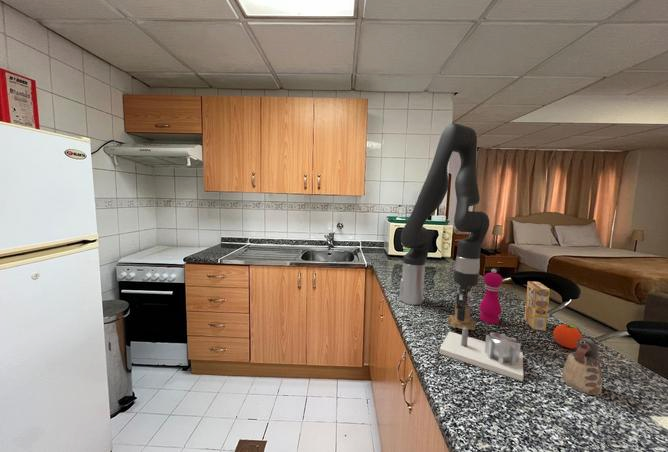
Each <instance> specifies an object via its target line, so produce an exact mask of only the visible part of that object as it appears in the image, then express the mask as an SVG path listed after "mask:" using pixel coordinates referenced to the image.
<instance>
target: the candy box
mask: <svg viewBox="0 0 668 452" xmlns="http://www.w3.org/2000/svg"><path fill="white" fill-rule="evenodd" d="M550 292H551V289H550V288H548V286H546V285H544V284H543V283H541V282H539V281H531V280H530V281H529V280H528V281H527V288H526V297H525V298H526V299H525V307H524V308H525V309H524V320H525V322H526V323H527V324H528V325H529V326H530V328H532V330H536V331H544V332H546V331H547V321H548V313H549V312H548V311H549V302H550Z"/></svg>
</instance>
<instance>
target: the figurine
mask: <svg viewBox="0 0 668 452" xmlns="http://www.w3.org/2000/svg"><path fill="white" fill-rule="evenodd" d="M599 350H600V347H599V346H598V345H597V344H596V343H595V342H594V341H593V340H591V339H589V338H587V337H582V338H580V339H578V340H577V347H576V351H572V352H570V353H569V354H568V356H567V357H566V359H565V360H566V361H565V364H564V366H563V367H564V368H563V370H562V379H563V381H564V383H566V385H567V386H569V387H571V388H572V389H574V390H575V391H579V392H581V393H582V394H587V395H590V396H593V395H594V396H599V395H600V394H601V393H602V390H603V381H602V377H603V376H602V371H603V370H602V367H601V365H600V363H599V362H598V361H600V357H598V354H599Z"/></svg>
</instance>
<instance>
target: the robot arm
mask: <svg viewBox="0 0 668 452" xmlns="http://www.w3.org/2000/svg"><path fill="white" fill-rule="evenodd" d="M477 144H478V140H477V132H476V130H475V129H474V128H471V127H469V126H466V125H463V124H459V123H455V122H452V123H450V124H448V125H447V126H445V128H444V129H443V131H442V133H441V135H440V137H439V141H438V143H437V147H436V150H435V153H434V156H433V159H432V162H431V165H430V168H429V171H428V173H427V176H426V178H425V180H424V183H423V185H422V187H421V190H420V192H419V194H418V197H417V200H416V202H415V205H414V206H413V210H412V211H411V213H410V216H409V217H408V219H407V222H406V223H405V225H404V227H403V229H402V230H401V234H400V242H401V245H402V246H403V247H404V248H406V249H409V251H408V252H407V253H406V254H404V256H403V257H402V260H403V262H402V275H401V279H400V281H399V297H398V298H399V301H400V302H402V303H404V304H406V305H413V306H417V305H421V304H423V302H424V301H423V300H424V287H425V286H424V285H425V284H424V283H425V270H426V269H425V268H426V261H427V259H428V256H429V249H430V248H429V247H430V233H429V231H428V229H427V228H426V227H425V226H424V225H425V223H426V222H427V220H428V219H429V218H430V216H432V215H433V214H434V213H435V212H436V210H437V209H439V207H440V206H441V204H442V203H443V202H444V199H445V196H446V195H447V192H448V190H449V174H448V173H449V172H448V166H449V161H450V159H451V156H452V154H453V153H458V155H459V158H460V167H459V170H458V172H457V175H456V178H455V181H454V190H455V196H456V207H455V213H454V218H453V224H454V227H455V228H456V230H457V231H459V233H460V232H461V233H470V234H469V236H467V237H464V238H461V239H459V240H458V242H457V249H456V250H457V251H456V258H455V261H454V271H453V282H454V283H455V284H458V285H459V287H458V288H457V290H456V292H457V293H456V304H457V306H456V309H458V313H457V319H458V320H460V321H464V319H465V310H466V305H468V306H469V304H470V301H471V298H472V297H471V295H472V291H473V289H472V288H473V287H476V286H478V285H479V277H480V268H481V267H480V266H481V265H480V263H481V261H480V259H481V248H482V245H483V244H484V240H485V239H486V236H487V233H488V232H489V231H488V230H489V227H490V219H489V216H488V214H487V213H486V212H483V211H471V210H470V207H472V206H473V207H474V206H476V205H478V204H479V203H480V201H481V200H480V198H481V197H480V192H479V191H480V190H479V187H478V186H479V184H478V179H477V151H478V150H477V148H478V145H477ZM460 304H461V305H463V307H462V306H460Z"/></svg>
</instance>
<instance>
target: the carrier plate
mask: <svg viewBox="0 0 668 452" xmlns="http://www.w3.org/2000/svg"><path fill="white" fill-rule="evenodd" d="M485 343H486V340H485V341H484V340H480V339H476V338H474V337H470V336H469V329H468V328H466V327H464V328H463V329H461V334H459V333H455V332H453V331H448V333H447V334H446V336H445V339H444V340H443V342H442V343H441V346H440V347H439V354H440V355H442V356H445V357H448V358H451V359H454V360H457V361H460V362H464V363H467V364H470V365H472V366H476V367H478V368H481V369H485V370H486V371H490V372H493V373H495V374H496V373H497V374H499V375H502V376H505V377H508V378H511V379H514V380H517V381H520V382H524V356H523V354H524V353H523V351H520V355H519V363H518V362H515V365H514V366H511V365H510V364H507V363H503V364H500V363H498V361H496V360H494V359H489V358H488V357H487V354H488V353H485Z"/></svg>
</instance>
